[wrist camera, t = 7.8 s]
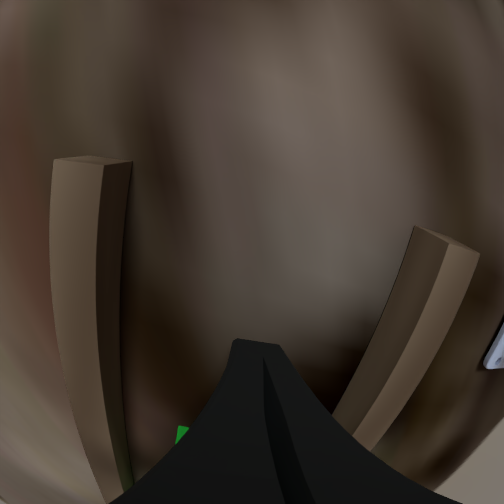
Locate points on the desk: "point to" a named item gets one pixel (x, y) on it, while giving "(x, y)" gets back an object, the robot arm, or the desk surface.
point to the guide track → (108, 302)
